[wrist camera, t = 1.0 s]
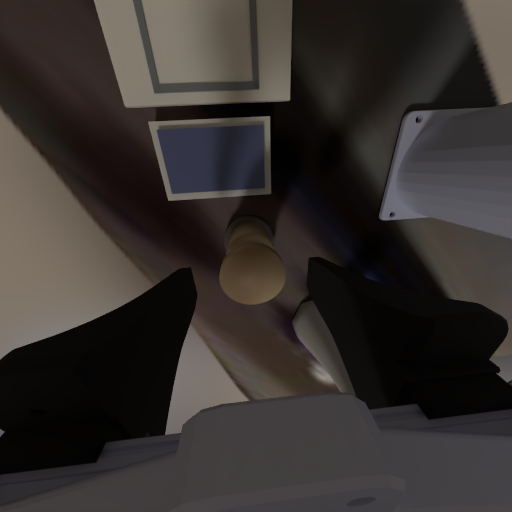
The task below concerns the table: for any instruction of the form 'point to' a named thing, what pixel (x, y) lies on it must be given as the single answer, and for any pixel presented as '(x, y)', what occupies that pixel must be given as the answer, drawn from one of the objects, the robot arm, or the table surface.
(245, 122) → the ink pad
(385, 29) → the table surface
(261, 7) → the paper sheet
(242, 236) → the stamp
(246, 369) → the table surface
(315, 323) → the flask
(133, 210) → the table surface
